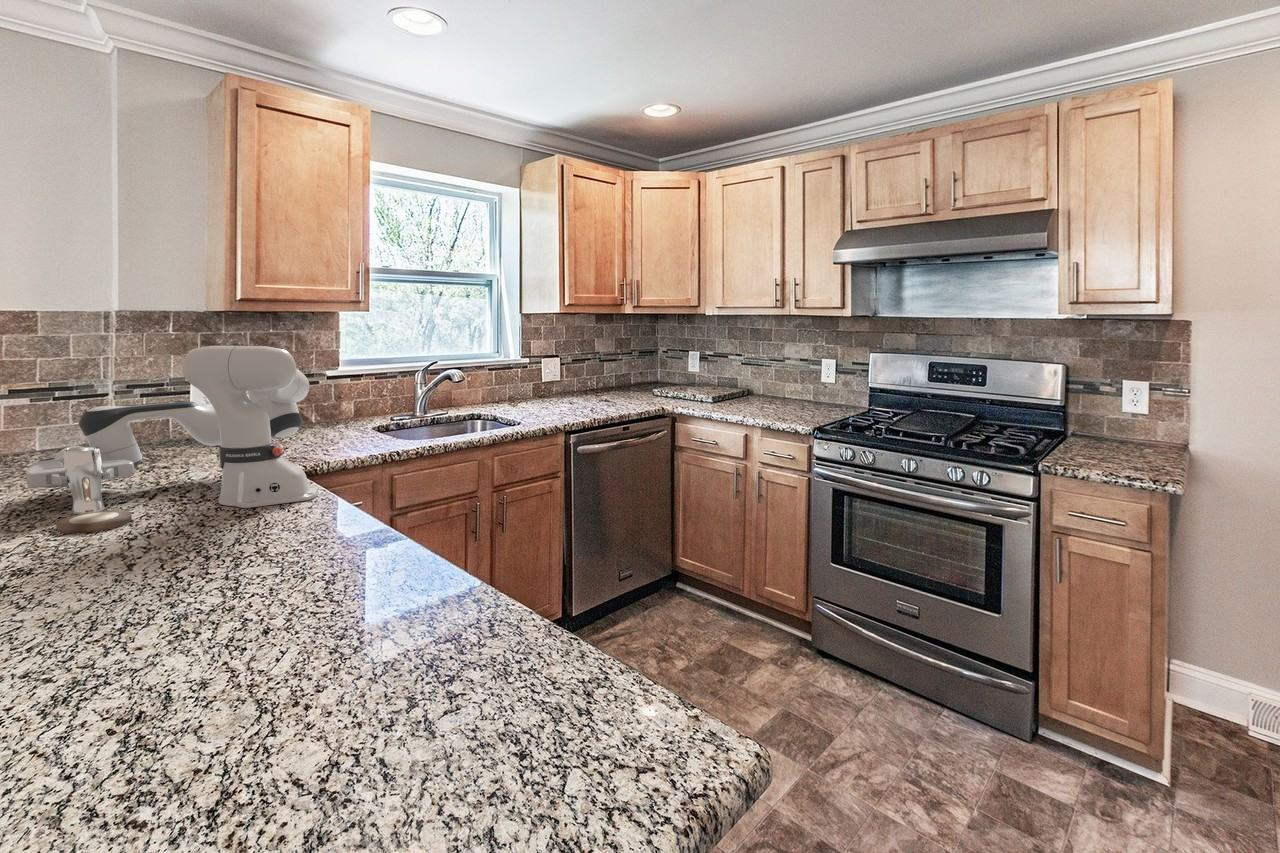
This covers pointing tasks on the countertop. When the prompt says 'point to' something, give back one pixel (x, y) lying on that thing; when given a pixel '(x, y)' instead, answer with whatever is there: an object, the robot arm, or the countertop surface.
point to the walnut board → (93, 521)
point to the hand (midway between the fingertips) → (85, 478)
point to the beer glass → (84, 478)
